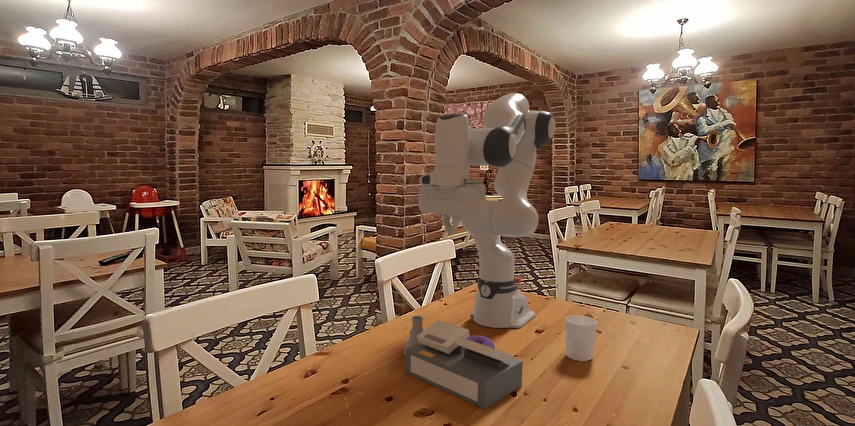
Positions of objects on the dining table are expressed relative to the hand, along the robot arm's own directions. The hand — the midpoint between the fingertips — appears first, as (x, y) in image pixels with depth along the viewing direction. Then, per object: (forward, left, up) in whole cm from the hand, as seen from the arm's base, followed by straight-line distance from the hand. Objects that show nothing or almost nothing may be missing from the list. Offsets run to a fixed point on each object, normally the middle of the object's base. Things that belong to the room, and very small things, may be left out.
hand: (451, 232), depth 117 cm
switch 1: (+7, +4, -25) cm, 26 cm away
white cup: (-25, +24, -33) cm, 48 cm away
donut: (-8, +3, -34) cm, 35 cm away
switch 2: (+7, +16, -25) cm, 30 cm away
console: (+7, +10, -33) cm, 35 cm away
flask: (+4, -8, -33) cm, 35 cm away
